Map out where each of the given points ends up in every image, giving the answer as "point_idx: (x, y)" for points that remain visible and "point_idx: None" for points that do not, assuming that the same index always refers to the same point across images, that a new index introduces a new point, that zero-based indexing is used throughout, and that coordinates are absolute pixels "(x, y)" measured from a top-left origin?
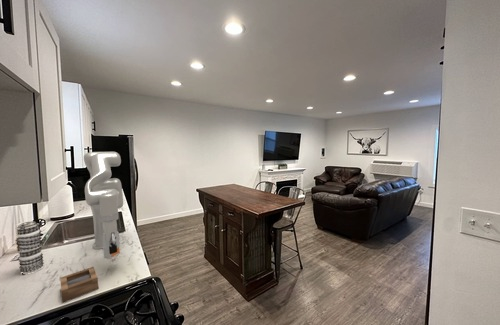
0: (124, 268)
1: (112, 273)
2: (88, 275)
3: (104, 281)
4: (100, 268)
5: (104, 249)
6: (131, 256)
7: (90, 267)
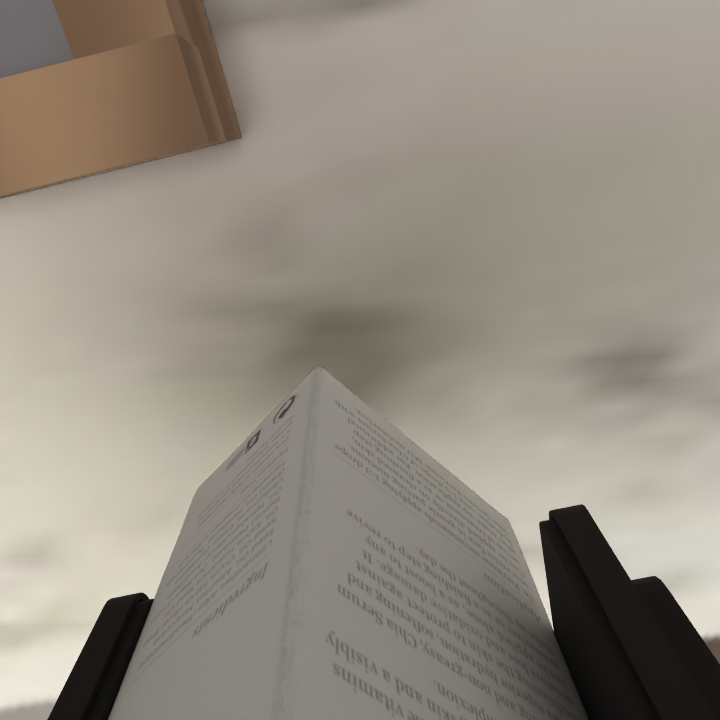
0: None
1: (205, 380)
2: (48, 62)
3: (21, 297)
4: (466, 206)
5: (257, 554)
6: None
7: (189, 81)
